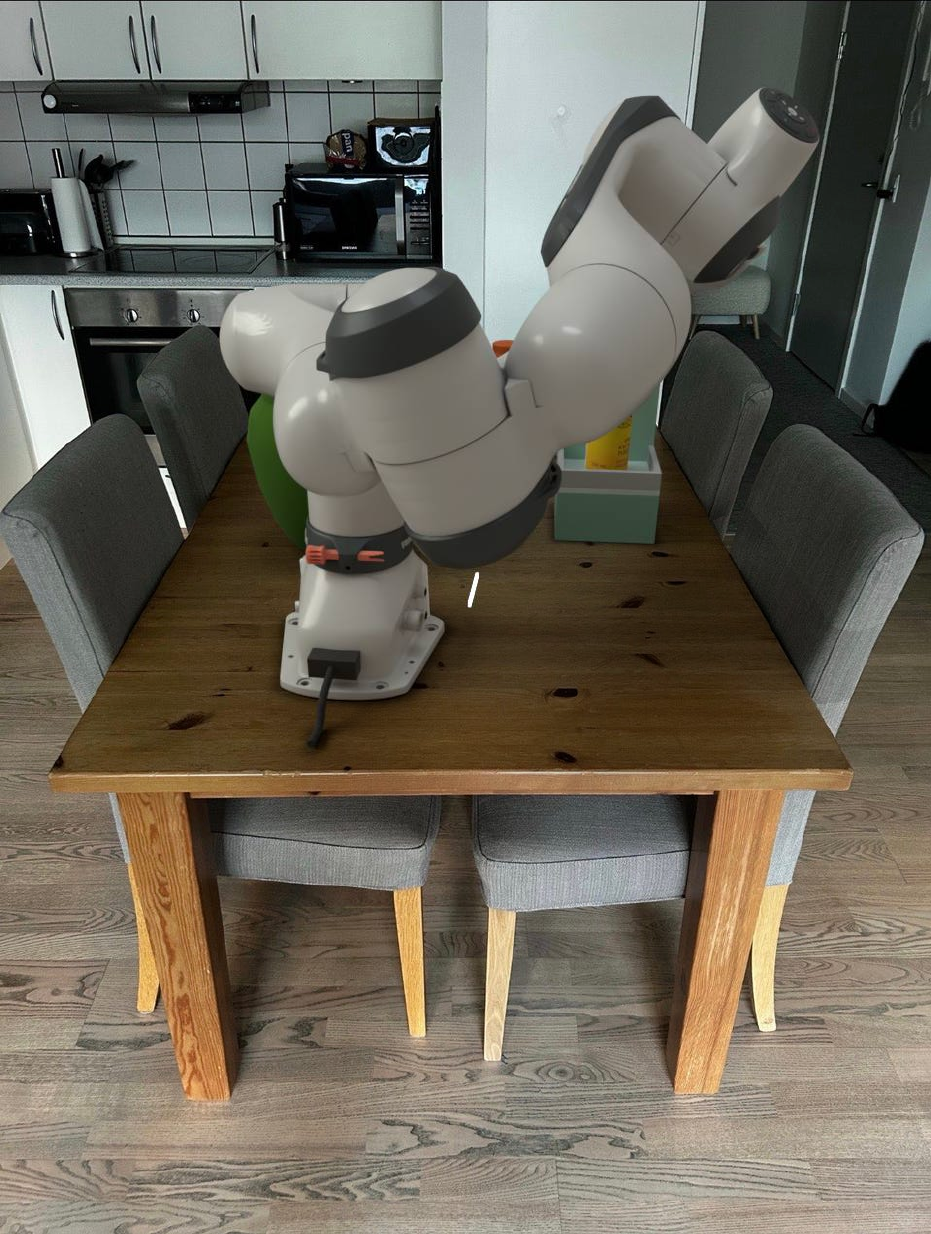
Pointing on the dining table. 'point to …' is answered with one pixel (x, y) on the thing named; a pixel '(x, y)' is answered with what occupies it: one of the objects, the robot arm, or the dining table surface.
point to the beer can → (610, 449)
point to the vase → (276, 474)
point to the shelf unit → (612, 489)
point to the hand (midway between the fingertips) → (630, 308)
